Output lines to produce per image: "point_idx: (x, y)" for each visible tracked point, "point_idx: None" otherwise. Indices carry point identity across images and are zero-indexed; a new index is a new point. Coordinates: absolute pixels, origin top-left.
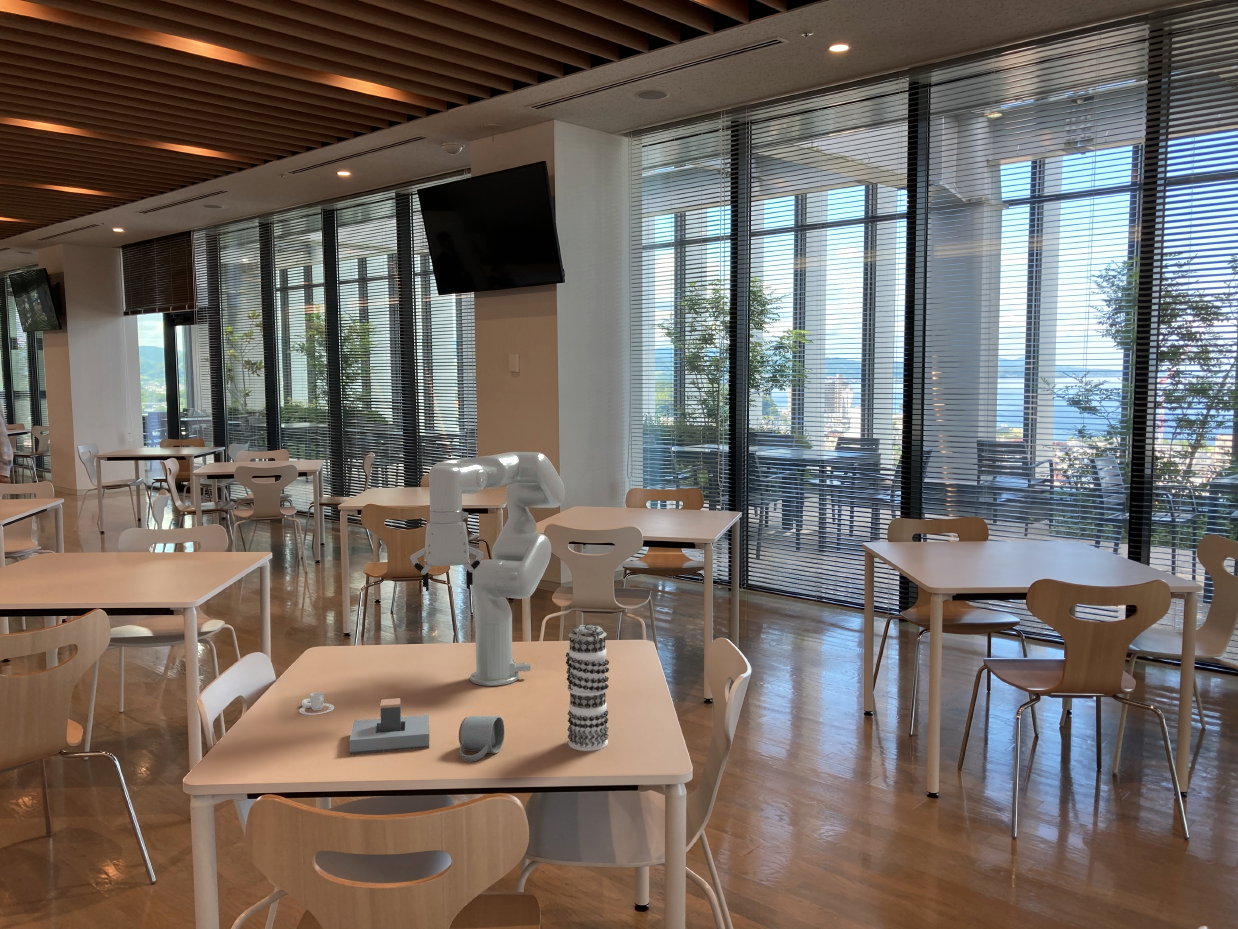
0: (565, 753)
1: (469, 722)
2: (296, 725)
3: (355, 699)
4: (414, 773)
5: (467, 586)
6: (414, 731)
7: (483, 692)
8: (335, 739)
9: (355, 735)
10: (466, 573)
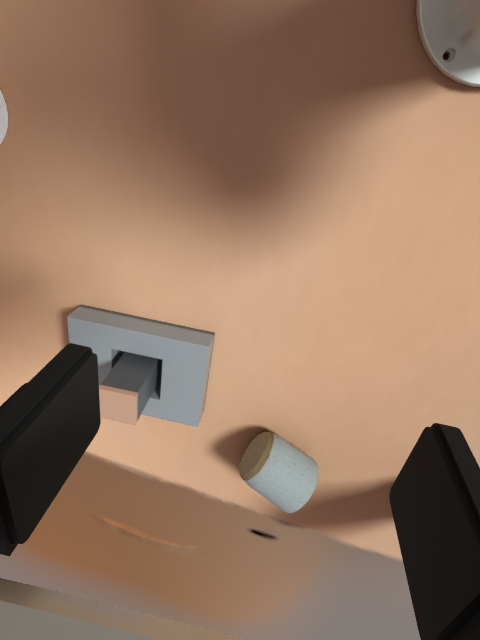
0: (389, 502)
1: (254, 488)
2: None
3: (47, 48)
4: (175, 469)
5: (396, 512)
6: (175, 409)
7: (406, 135)
8: (52, 315)
9: None
10: (443, 610)
